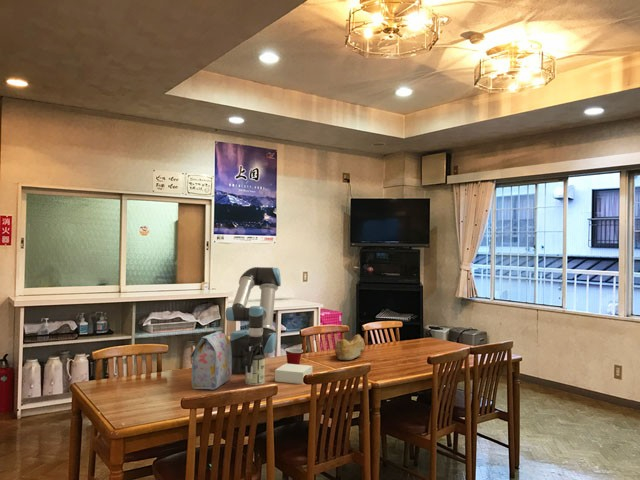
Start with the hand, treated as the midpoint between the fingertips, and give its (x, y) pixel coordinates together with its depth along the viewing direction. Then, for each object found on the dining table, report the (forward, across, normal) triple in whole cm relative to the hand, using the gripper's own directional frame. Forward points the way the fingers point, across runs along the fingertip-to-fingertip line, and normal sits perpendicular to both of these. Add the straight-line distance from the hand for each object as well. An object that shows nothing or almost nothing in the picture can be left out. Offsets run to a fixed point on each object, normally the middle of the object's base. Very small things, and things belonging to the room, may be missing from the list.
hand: (255, 375), depth 257 cm
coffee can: (+4, 0, 0) cm, 4 cm away
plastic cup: (+4, +33, -10) cm, 35 cm away
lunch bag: (+4, -11, +20) cm, 23 cm away
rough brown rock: (+4, +76, -32) cm, 83 cm away
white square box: (+4, +14, -17) cm, 22 cm away
